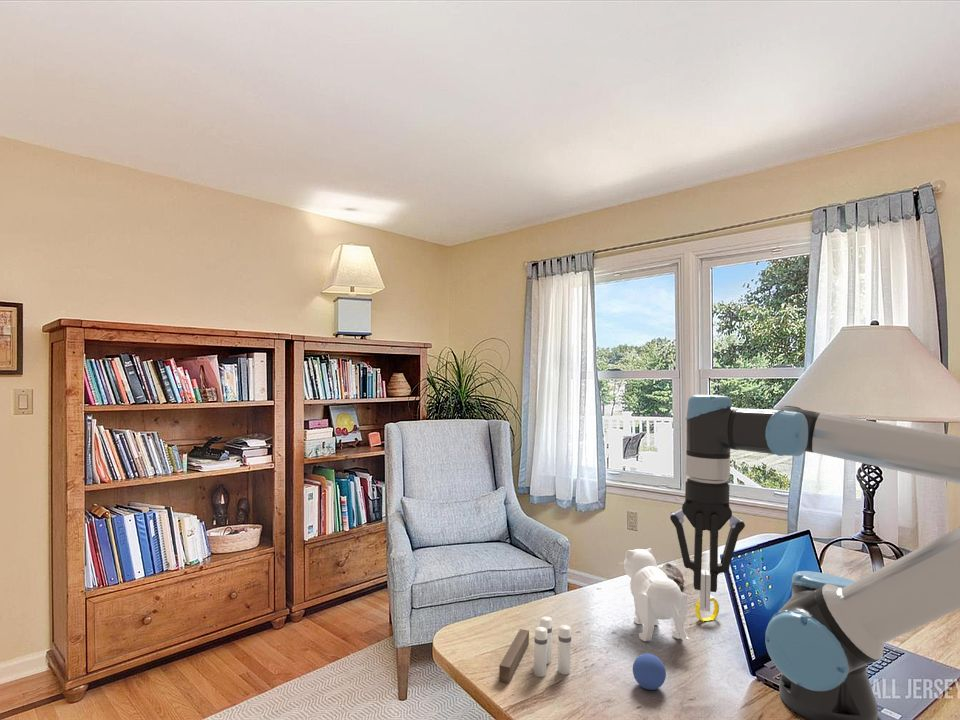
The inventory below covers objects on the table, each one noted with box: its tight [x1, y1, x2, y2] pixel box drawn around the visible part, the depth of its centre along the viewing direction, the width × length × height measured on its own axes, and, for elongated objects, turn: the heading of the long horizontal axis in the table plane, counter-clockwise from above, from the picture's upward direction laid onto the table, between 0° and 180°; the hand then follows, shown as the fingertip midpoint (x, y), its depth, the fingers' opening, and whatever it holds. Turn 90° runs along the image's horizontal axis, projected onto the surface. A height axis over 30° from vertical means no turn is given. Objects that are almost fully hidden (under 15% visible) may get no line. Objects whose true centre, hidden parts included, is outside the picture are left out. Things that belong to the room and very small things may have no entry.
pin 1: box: [539, 616, 553, 665], centre depth 115 cm, size 2×2×8 cm
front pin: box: [557, 624, 572, 676], centre depth 112 cm, size 2×2×8 cm
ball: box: [632, 653, 667, 691], centre depth 107 cm, size 6×6×6 cm
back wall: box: [498, 628, 530, 684], centre depth 115 cm, size 2×16×3 cm, turn 162°
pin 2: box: [533, 626, 547, 678], centre depth 111 cm, size 2×2×8 cm
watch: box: [694, 594, 720, 623], centre depth 136 cm, size 6×3×6 cm, turn 108°
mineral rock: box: [657, 562, 685, 590], centre depth 158 cm, size 15×8×4 cm, turn 139°
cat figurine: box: [617, 547, 690, 642], centre depth 129 cm, size 25×10×17 cm, turn 15°
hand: (704, 607), depth 104 cm, fingers closed
